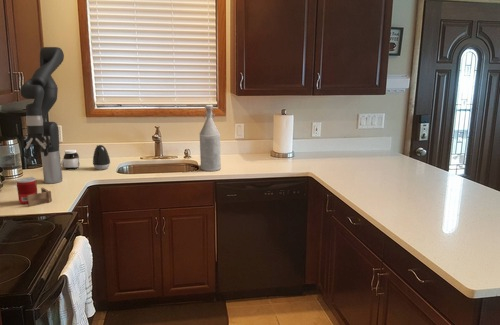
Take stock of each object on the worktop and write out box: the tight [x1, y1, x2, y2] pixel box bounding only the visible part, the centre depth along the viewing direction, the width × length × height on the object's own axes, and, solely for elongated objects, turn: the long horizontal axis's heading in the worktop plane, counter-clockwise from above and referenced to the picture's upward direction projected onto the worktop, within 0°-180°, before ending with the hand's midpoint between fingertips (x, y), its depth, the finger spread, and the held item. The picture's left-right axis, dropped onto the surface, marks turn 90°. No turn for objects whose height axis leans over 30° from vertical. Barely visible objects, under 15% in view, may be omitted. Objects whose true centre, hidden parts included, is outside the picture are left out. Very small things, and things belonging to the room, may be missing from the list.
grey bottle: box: [199, 104, 222, 172], centre depth 254 cm, size 13×17×40 cm
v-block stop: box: [27, 187, 53, 207], centre depth 193 cm, size 13×7×5 cm, turn 179°
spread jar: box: [60, 149, 81, 170], centre depth 259 cm, size 12×11×12 cm
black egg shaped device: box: [92, 144, 111, 171], centre depth 256 cm, size 10×10×15 cm
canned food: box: [16, 176, 39, 205], centre depth 192 cm, size 8×8×11 cm
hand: (37, 156), depth 212 cm, fingers open, 8 cm apart
